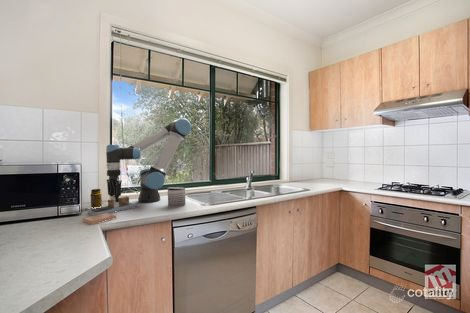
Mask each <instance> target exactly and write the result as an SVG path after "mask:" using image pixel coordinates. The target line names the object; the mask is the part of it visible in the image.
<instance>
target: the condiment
mask: <svg viewBox="0 0 470 313" xmlns="http://www.w3.org/2000/svg"><path fill="white" fill-rule="evenodd" d="M90 191H91V192H90V207H93V208H94V207H100V206H103V204H102V202H103V200H102V193H101V189H100V188H94V189H91V190H90Z"/></svg>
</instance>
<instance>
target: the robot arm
mask: <svg viewBox="0 0 470 313" xmlns="http://www.w3.org/2000/svg"><path fill="white" fill-rule="evenodd" d="M191 131H192V124H191V122H190V121H189V120H188V119H187V118H184V117H183V118H182V117H181V118H177V119H175V120H173V121H171V122H169V123H168V124H167V125H165V126H164V127H162V129H161V130H159V131H157V132H154V133H152V134H151V135H149V136H148V137H145V138H143V139H142V140H138V141H137V142H136V143H134V144H132V145H130V146H128V147H121V145H120V144H108V145H106V152H105V153H106V154H105V156H106V176H107V177H108V179H106V184H107V195H108V196H109V197H110V199H109V200H111V199H114V208H116V207H119V198H120V197H121V196H122V181H123V180H121V179H120V177H119V176H121V175H122V174H121V173H122V172H121V161H122V160H139V159H141V154H142V153H143V152H144V151H145V152H146V151H147V150H148V149H151V148H153V147H154V146H156V145H158V144H160V143H162V142H164V141H165V140H166V142H165V144H164V145H163V147H162V150H161V152H160V154H158V157H157V159H156V161H155V162H154V165H151V166H150V167H149V168H145V169H141V170H140V171H139V180H140V181H139V182H140V191H139V195H138V198H137V201H138V203H140V204H142V203H144V204H145V203H146V204H147V203H149V204H150V203H155V202H159V201H161V195H160V192H159V189H160V188H162V187H163V186H164V184H165V183H166V182H165V180H166V176H167V170H168V167H169V165H170V163H171V161H172V160H173V157H174V155H175V153H176V151H177V150H178V148H179V145H180V143H181V142H182V141H184V140H185V139H186V136H187V135H188V134H189V133H190V132H191Z"/></svg>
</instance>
